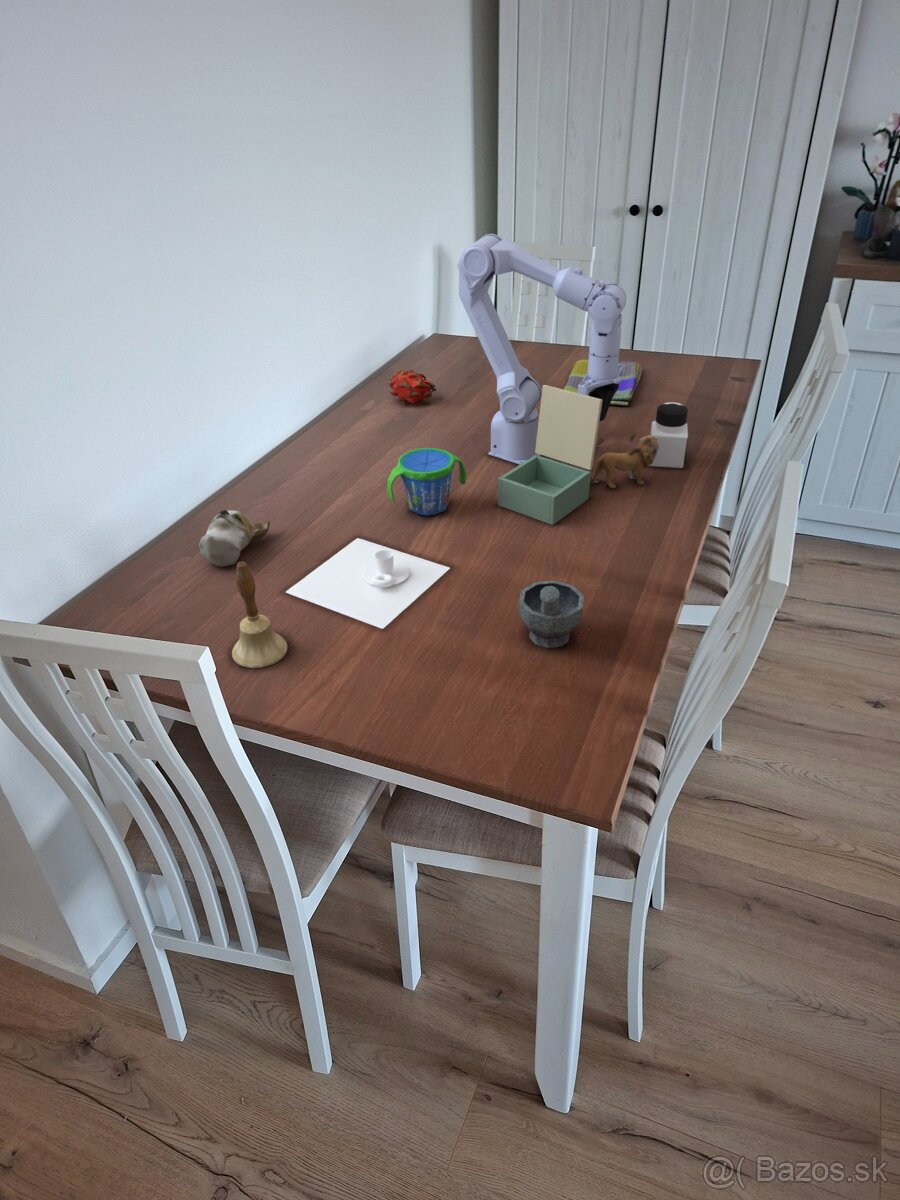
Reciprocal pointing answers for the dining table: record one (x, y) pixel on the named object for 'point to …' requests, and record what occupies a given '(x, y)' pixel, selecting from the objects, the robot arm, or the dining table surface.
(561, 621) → the mortar and pestle
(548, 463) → the box
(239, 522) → the ceramic sculpture
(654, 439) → the lion figurine
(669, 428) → the medicine bottle
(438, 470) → the snack cup
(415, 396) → the dragon fruit
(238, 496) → the dining table surface
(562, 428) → the lid
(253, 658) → the hand bell
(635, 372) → the dish towel
